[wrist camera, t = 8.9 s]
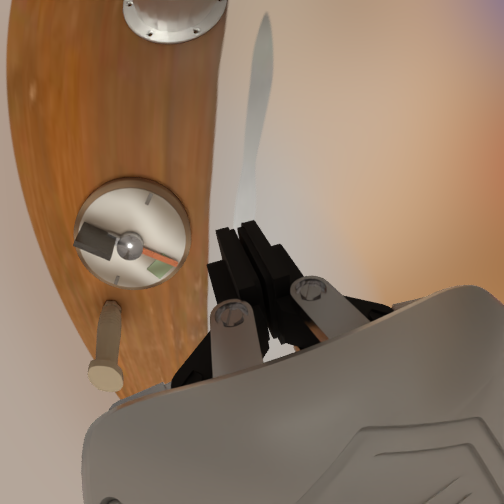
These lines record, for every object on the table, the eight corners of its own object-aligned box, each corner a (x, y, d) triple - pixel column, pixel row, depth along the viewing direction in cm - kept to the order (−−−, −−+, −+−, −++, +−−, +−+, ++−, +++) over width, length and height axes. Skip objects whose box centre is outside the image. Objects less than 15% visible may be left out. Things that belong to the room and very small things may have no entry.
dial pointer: (182, 252, 40) (185, 274, 35) (171, 271, 41) (173, 294, 36) (87, 211, 32) (78, 230, 28) (79, 234, 33) (70, 255, 29)
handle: (101, 319, 45) (94, 391, 32) (96, 291, 42) (83, 365, 29) (127, 320, 46) (125, 392, 34) (123, 291, 43) (118, 366, 31)
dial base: (164, 294, 46) (164, 304, 43) (67, 261, 37) (63, 271, 35) (210, 204, 40) (213, 212, 38) (98, 158, 32) (93, 163, 30)
